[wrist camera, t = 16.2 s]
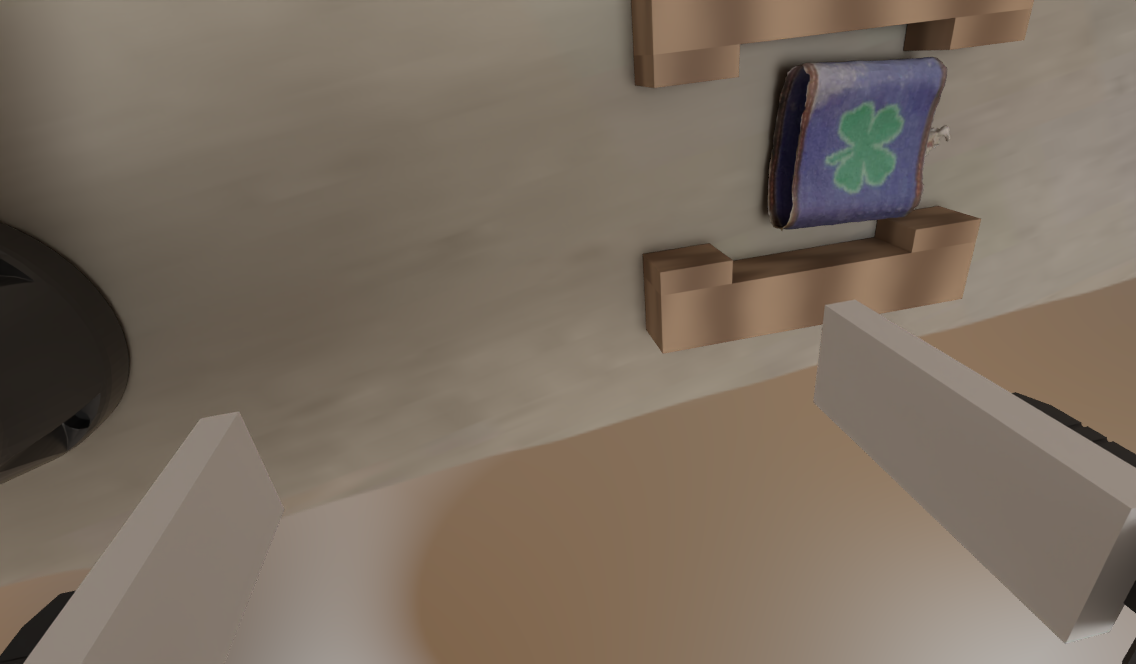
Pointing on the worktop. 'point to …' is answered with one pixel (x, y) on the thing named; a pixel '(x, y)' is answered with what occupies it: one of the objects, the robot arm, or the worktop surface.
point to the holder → (820, 274)
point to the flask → (853, 140)
